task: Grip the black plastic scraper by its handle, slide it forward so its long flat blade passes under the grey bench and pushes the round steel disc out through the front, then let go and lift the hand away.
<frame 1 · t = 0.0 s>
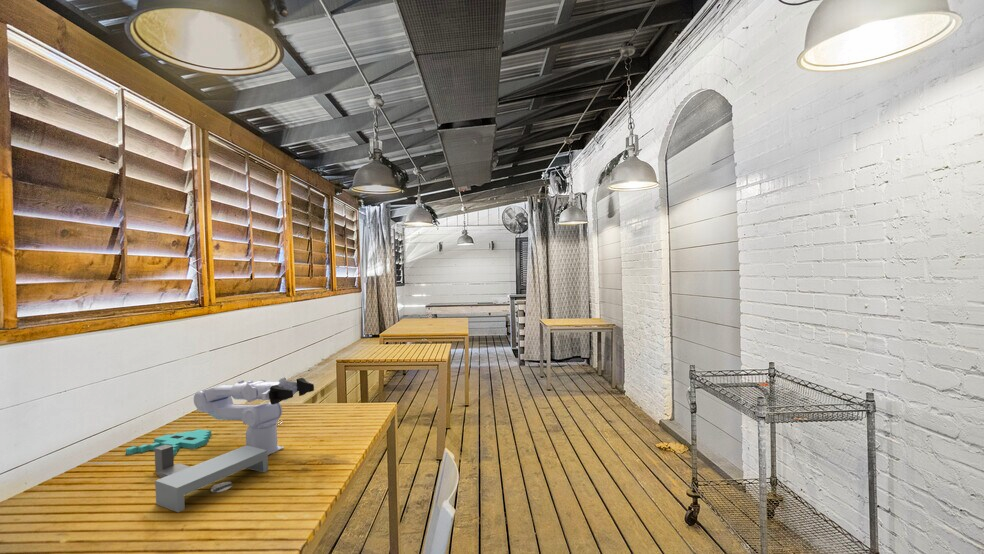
hand: (302, 390, 131), 22 cm above the table, tool horizontal, fingers open, 7 cm apart
alien figure: (177, 447, 148), on the table
steel disc: (221, 489, 115), on the table
scraper: (164, 470, 128), on the table
grey bench: (216, 486, 117), on the table
teacup and saucer: (263, 428, 164), on the table
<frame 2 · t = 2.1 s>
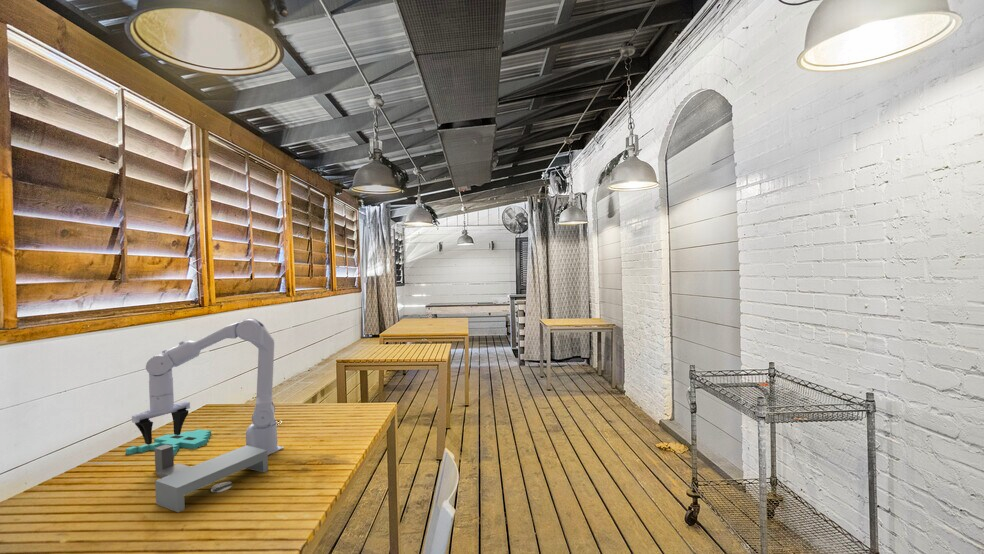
hand: (163, 439, 128), 9 cm above the table, tool pointing down, fingers open, 7 cm apart
nothing on the table moved.
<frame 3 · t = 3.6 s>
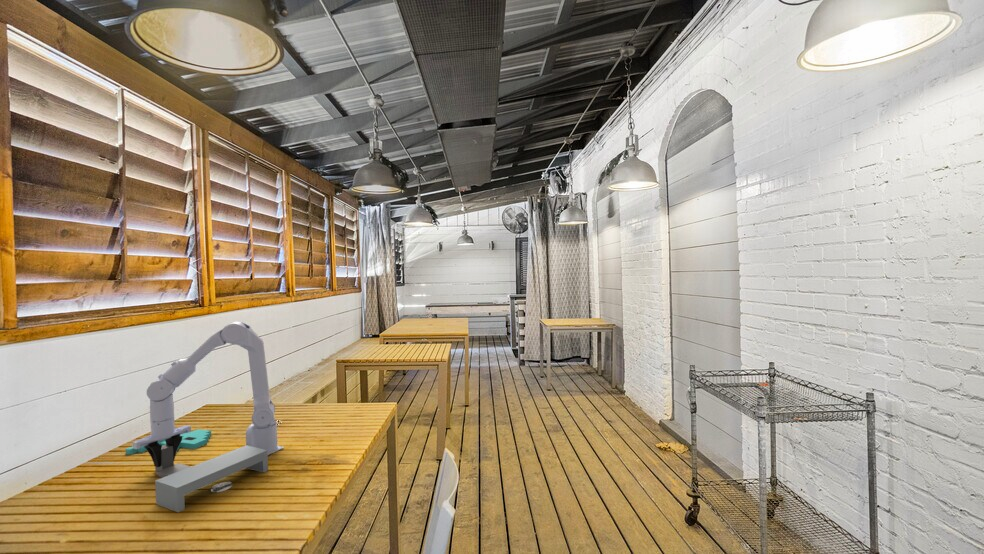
hand: (164, 463, 128), 2 cm above the table, tool pointing down, fingers closed on scraper, 3 cm apart
scraper: (164, 470, 128), on the table, touching gripper
everything else where it was.
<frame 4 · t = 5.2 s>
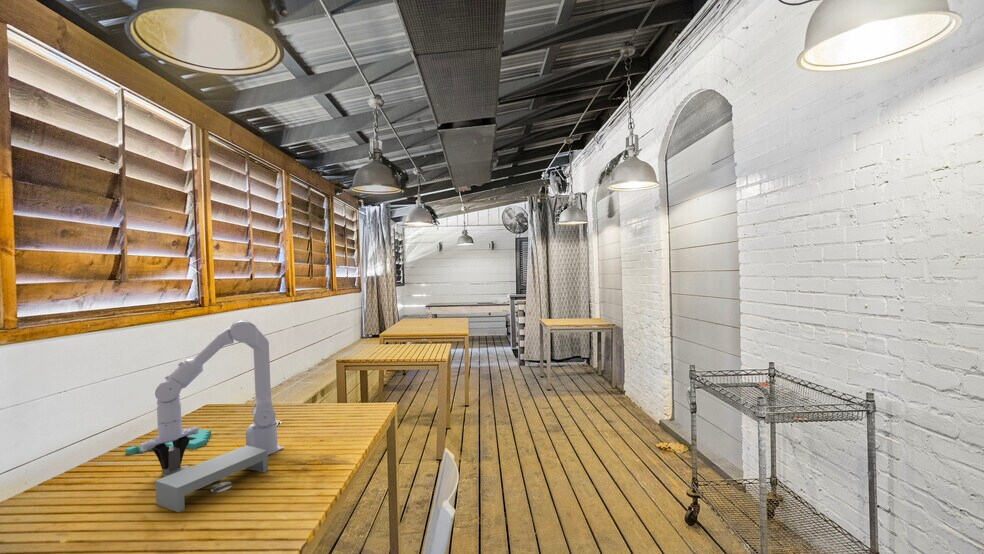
hand: (171, 465, 127), 2 cm above the table, tool pointing down, fingers closed on scraper, 3 cm apart
scraper: (171, 472, 127), on the table, touching gripper
everything else where it was.
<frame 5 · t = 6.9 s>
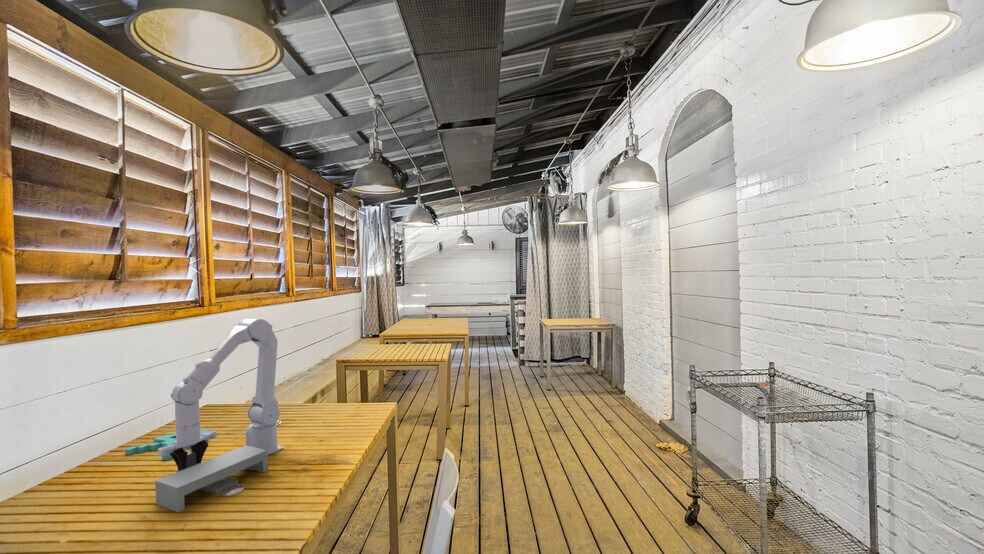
hand: (189, 471, 122), 2 cm above the table, tool pointing down, fingers closed on scraper, 3 cm apart
steel disc: (233, 492, 113), on the table, touching scraper
scraper: (187, 477, 123), on the table, touching gripper, steel disc
everything else where it was.
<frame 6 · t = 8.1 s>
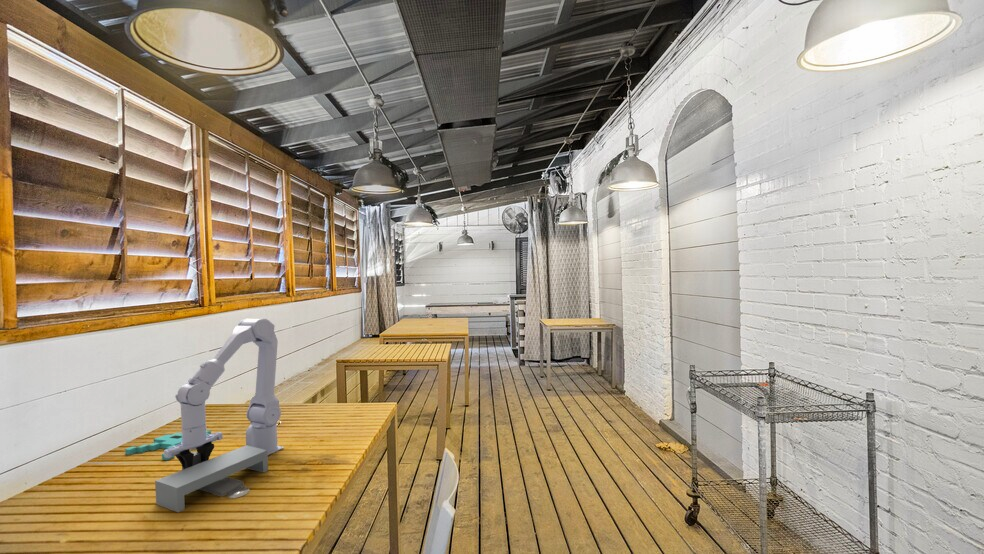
hand: (195, 473, 121), 2 cm above the table, tool pointing down, fingers closed on scraper, 3 cm apart
steel disc: (238, 494, 112), on the table
scraper: (192, 478, 122), on the table, touching gripper
everything else where it was.
when the fingers open (2 cm above the table, at t = 9.1 s): scraper stays where it is, on the table.
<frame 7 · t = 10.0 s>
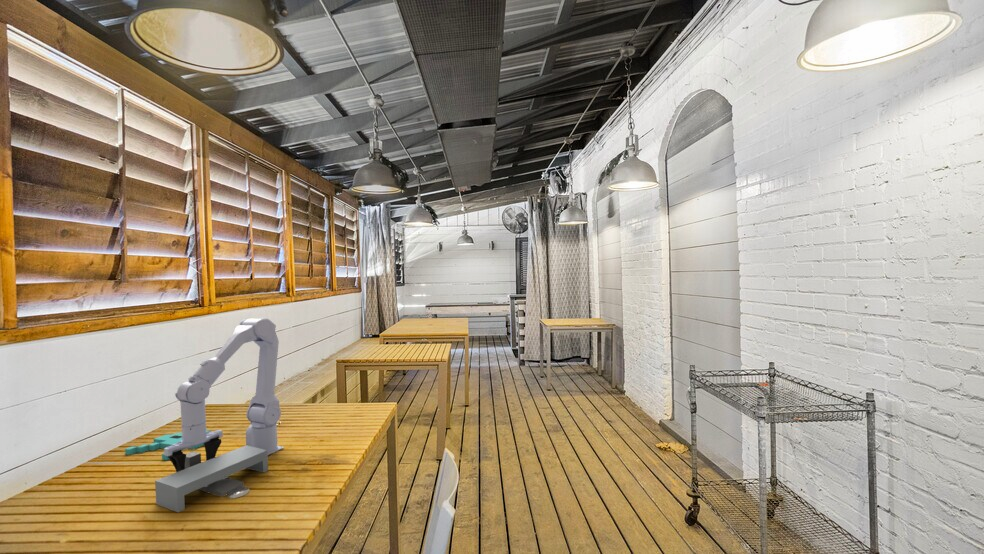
hand: (196, 471, 121), 2 cm above the table, tool pointing down, fingers open, 7 cm apart
scraper: (192, 478, 122), on the table
everything else where it was.
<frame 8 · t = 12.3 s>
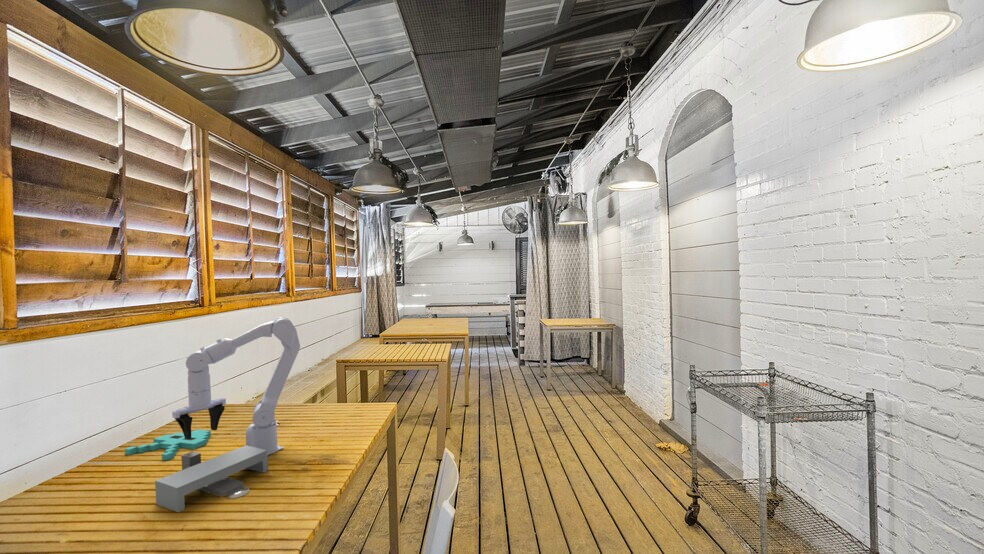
hand: (201, 434, 131), 9 cm above the table, tool pointing down, fingers open, 7 cm apart
nothing on the table moved.
at the end: steel disc inside the target area (3.8 cm from its centre), on the table; the gripper is holding nothing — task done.
